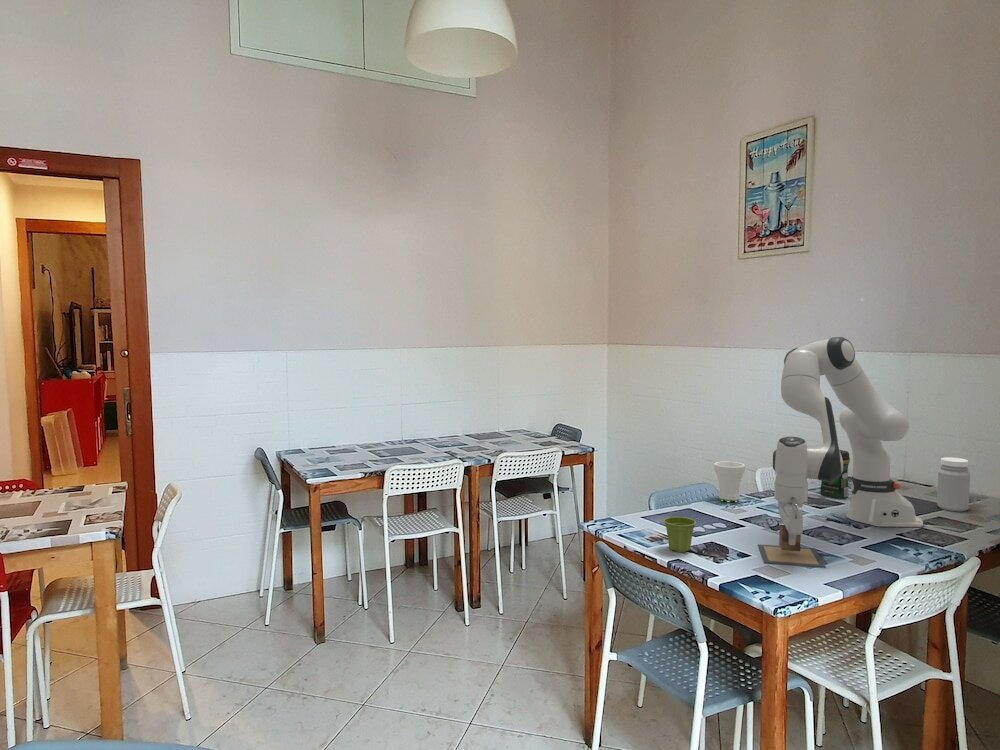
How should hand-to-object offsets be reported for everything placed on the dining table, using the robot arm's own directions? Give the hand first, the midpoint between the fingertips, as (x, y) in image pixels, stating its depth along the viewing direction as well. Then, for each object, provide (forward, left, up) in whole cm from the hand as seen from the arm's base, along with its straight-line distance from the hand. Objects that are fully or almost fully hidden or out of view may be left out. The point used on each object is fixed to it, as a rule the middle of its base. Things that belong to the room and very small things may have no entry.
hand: (790, 540), depth 194 cm
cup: (+13, -61, -5) cm, 62 cm away
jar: (-64, -67, -5) cm, 93 cm away
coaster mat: (0, 0, -4) cm, 4 cm away
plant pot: (+31, +1, -5) cm, 31 cm away
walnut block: (0, 0, -2) cm, 2 cm away
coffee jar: (-27, -77, -5) cm, 82 cm away
